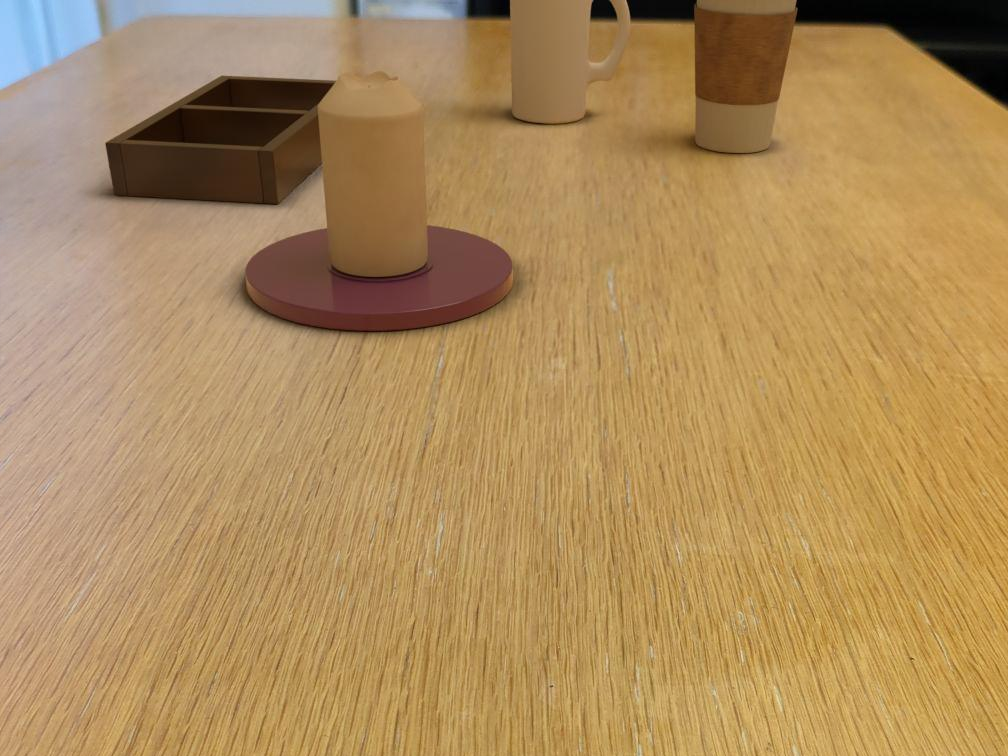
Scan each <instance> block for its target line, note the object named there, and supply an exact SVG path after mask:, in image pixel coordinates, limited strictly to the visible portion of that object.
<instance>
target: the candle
mask: <svg viewBox="0 0 1008 756" xmlns="http://www.w3.org/2000/svg"><path fill="white" fill-rule="evenodd" d="M335 81H336V82H335V84H334V85H333V86H332V88H331V89H330V90H329V91H328V93H327V94H326V95H325V97H324V98H323V99H322V100H321V102H320V103H319V104H318V119H319V131H320V144H321V156H322V163H321V167H322V169H321V170H322V180H323V192H324V205H325V219H326V228H327V232H328V244H329V254H330V260H331V264H332V266H333V267H334V268H336V269H337V270H339V271H341V272H344V273H347V274H351V275H357V276H366V277H386V276H395V275H401V274H406V273H409V272H413V271H415V270H417V269H419V268H421V267H423V266H424V265H425V264H426V262H427V256H428V242H427V225H428V220H427V219H428V218H427V217H428V216H427V214H428V213H427V190H426V189H427V188H426V185H427V184H426V160H425V157H426V156H425V129H424V105H423V103H422V101H421V100H419V98H418V97H417V96H416V95H415V94H414V93H413V91H411V89H409V87H408V86H407V85H406V84H405V83H404V82H403V81H402V80H401V79H400V77H398V76H394V77H391V76H390V75H389V74H388V73H387V72H385V71H381V70H377V71H373V72H372V73H369V74H368V75H366V76H363V77H358V76H356V75H355V74H352V73H351V72H342V73H340V74H339V76H338V78H337V79H336V80H335Z"/></svg>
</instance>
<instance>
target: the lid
mask: <svg viewBox="0 0 1008 756" xmlns="http://www.w3.org/2000/svg"><path fill="white" fill-rule="evenodd" d="M427 242H428V256H427V262H426V264H425V265H424V266H423V267H421V268H419V269H417V270H415V271H413V272H409V273H406V274H401V275H395V276H386V277H366V276H357V275H351V274H347V273H344V272H341V271H339V270H337V269H336V268H334V267H333V266H332V264H331V260H330V254H329V244H328V232H327V227H325V228H319V229H313V230H310V231H306V232H302V233H298V234H294V235H290V236H288V237H285V238H283V239H280V240H277V241H275V242H273V243H270V244H268V245H266V246H265V247H263V248H262V249H260V250H258V251H257V252H255V254H254V255H253V256H252V257H251V258H250V259H249V260H248V262H247V263H246V267H245V269H244V276H245V285H246V291H247V294H248V296H249V298H250V299H251V300H252V302H253V303H254V304H255V305H256V306H258V307H259V308H260V309H262V310H264V311H265V312H267V313H269V314H272V315H274V316H276V317H278V318H281V319H283V320H287V321H290V322H293V323H297V324H300V325H307V326H311V327H315V328H324V329H331V330H332V329H333V330H339V331H340V330H342V331H358V332H359V331H361V332H382V331H383V332H384V331H401V330H411V329H420V328H426V327H432V326H439V325H443V324H447V323H451V322H455V321H460V320H463V319H466V318H469V317H472V316H474V315H477V314H479V313H482V312H484V311H486V310H488V309H490V308H491V307H494V306H495V305H496V304H498V303H499V302H501V301H502V300H503V299H504V298H505V297H506V296H507V295H508V294H509V292H510V291H511V289H512V287H513V283H514V264H513V260H512V258H511V256H510V254H509V253H508V252H507V251H506V250H505V249H504V248H502V247H501V246H500V245H498V244H497V243H495V242H493V241H491V240H489V239H488V238H484V237H481V236H480V235H477V234H474V233H470V232H467V231H463V230H460V229H454V228H450V227H443V226H437V225H429V224H427Z"/></svg>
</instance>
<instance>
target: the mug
mask: <svg viewBox="0 0 1008 756" xmlns="http://www.w3.org/2000/svg"><path fill="white" fill-rule="evenodd" d="M608 1H609V2H610V3H611V4H612V6H613V8H614V11H615V13H616V18H617V19H616V20H617V29H616V30H617V31H616V36H615V40H614V44H613V45H612V49H611V50H610V52H609V53H608V55H607V56H606V57H605V59H604V60H603V61H601V62H593V61H591V60H590V59H589V47H590V26H591V13H592V12H591V11H592V3H593V2H594V0H509V16H510V22H509V24H510V69H511V70H510V77H511V79H510V82H511V113H512V116H513V117H514V118H515V119H518V120H520V121H524V122H529V123H535V124H549V125H550V124H568V123H573V122H577V121H579V120H582V119H583V118H584V117H585V114H586V103H587V89H588V87H589V85H591V84H592V83H595V82H598V81H604V82H610V81H613V79H614V78H615V75H616V73H617V70H618V68H619V65H620V63H621V61H622V58H623V55H624V53H625V51H626V49H627V45H628V42H629V38H630V33H631V14H630V9H629V8H630V7H629V5H628V2H627V0H608Z"/></svg>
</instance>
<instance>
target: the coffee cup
mask: <svg viewBox="0 0 1008 756" xmlns="http://www.w3.org/2000/svg"><path fill="white" fill-rule="evenodd" d="M796 5H797V0H696V3H695V4H694V5H693V13H694V15H693V16H694V24H693V25H694V95H695V113H694V115H695V119H694V121H695V122H694V123H695V125H694V137H695V138H694V141H695V144H696V145H697V146H698V147H700V148H703V149H704V150H705V149H706V150H709V151H712V152H719V153H726V154H727V153H728V154H750V153H758V152H762V151H765V150H767V149H768V148H769V147H770V145H771V142H772V136H773V130H774V125H775V119H776V113H777V109H778V103H779V99H780V95H781V91H782V85H783V82H784V77H785V72H786V68H787V61H788V57H789V52H790V49H791V43H792V38H793V33H794V28H795V24H796V18H797V15H798V7H796Z"/></svg>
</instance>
